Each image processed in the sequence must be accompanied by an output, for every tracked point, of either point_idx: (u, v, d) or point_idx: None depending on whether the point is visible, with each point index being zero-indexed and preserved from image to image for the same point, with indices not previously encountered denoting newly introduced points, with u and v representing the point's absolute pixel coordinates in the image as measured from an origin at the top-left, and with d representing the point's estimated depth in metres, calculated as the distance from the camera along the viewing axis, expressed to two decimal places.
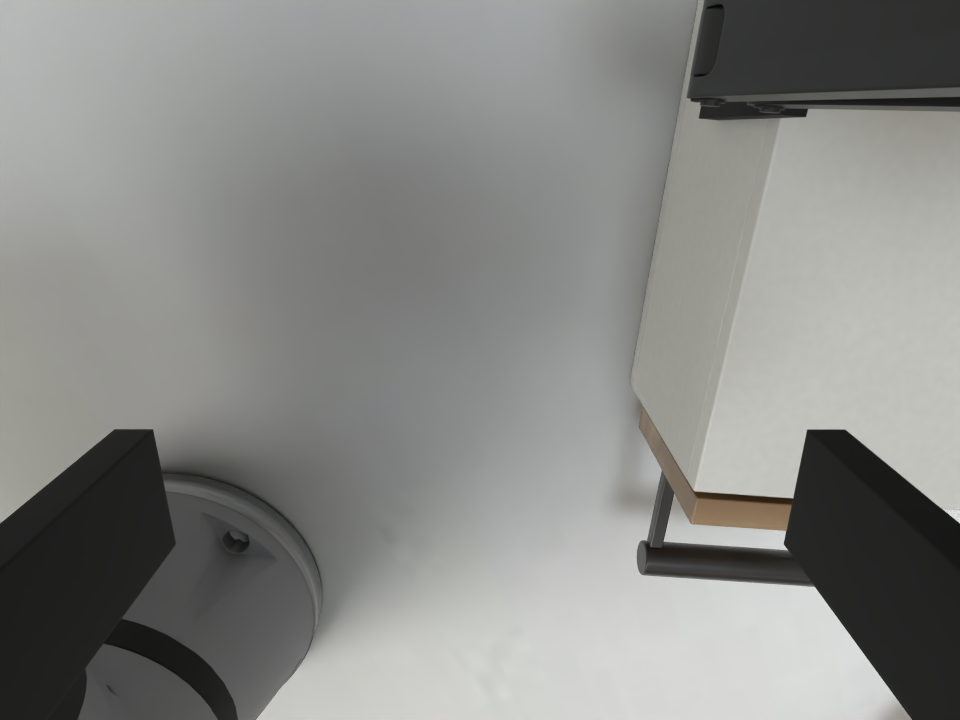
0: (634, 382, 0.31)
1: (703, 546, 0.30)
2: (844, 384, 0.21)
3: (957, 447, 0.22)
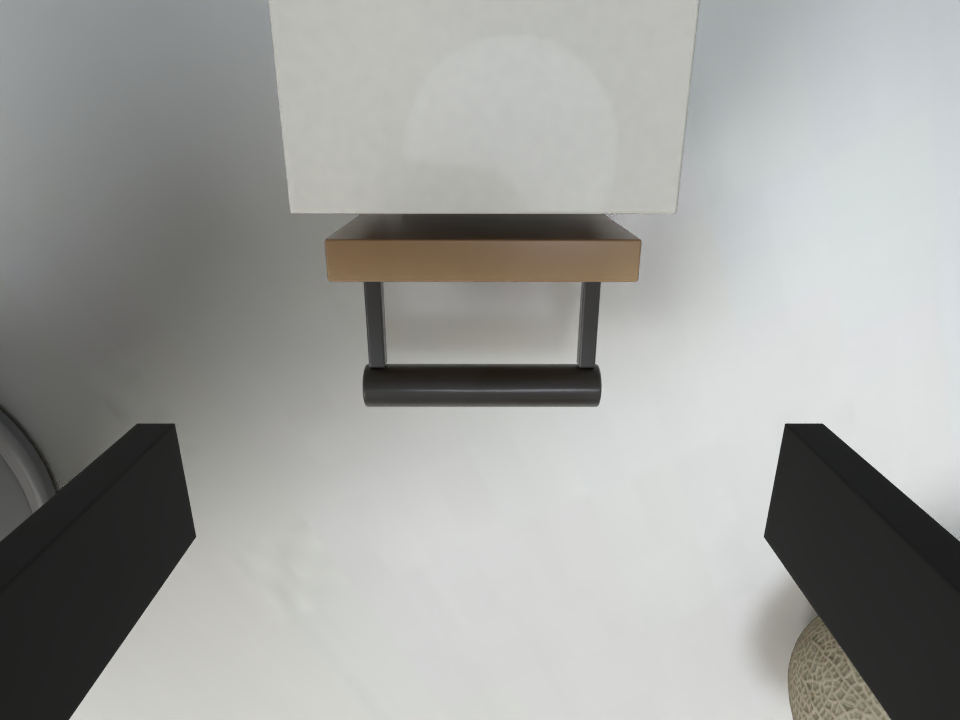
0: None
1: (443, 364, 0.23)
2: (453, 13, 0.14)
3: (645, 106, 0.15)
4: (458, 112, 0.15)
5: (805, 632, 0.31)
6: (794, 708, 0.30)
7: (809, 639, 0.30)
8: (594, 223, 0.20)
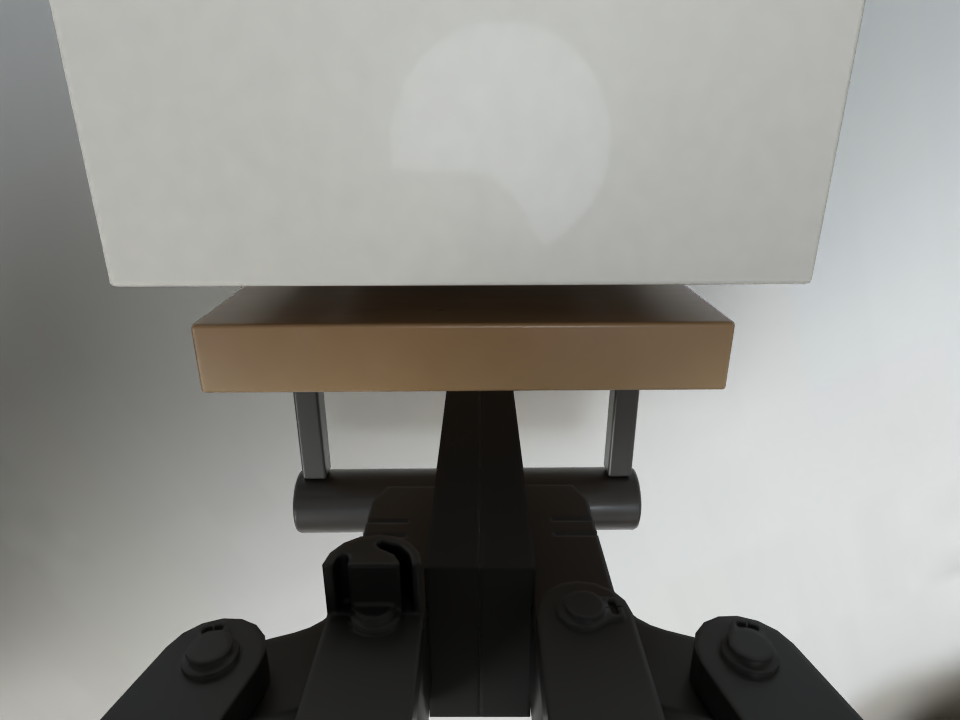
0: None
1: (412, 470, 0.16)
2: None
3: (769, 89, 0.08)
4: (413, 101, 0.08)
5: None
6: None
7: None
8: None
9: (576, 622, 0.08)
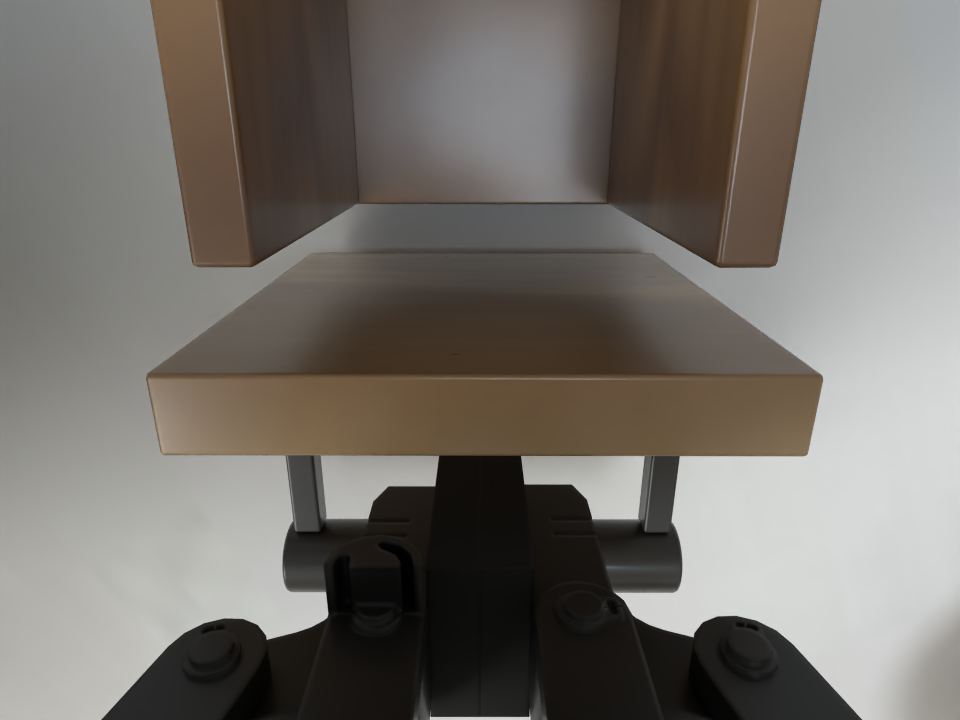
0: None
1: None
2: None
3: None
4: None
5: None
6: None
7: None
8: (690, 310, 0.11)
9: (575, 622, 0.08)
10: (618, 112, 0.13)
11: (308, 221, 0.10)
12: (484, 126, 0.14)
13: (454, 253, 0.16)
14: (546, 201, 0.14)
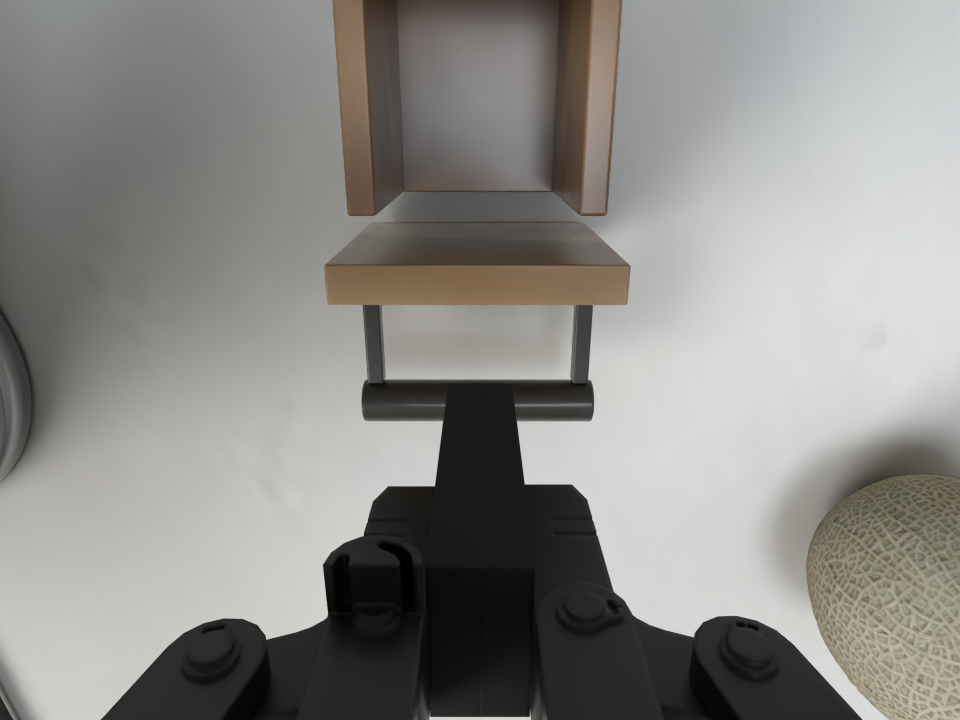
0: None
1: None
2: None
3: None
4: None
5: (825, 519, 0.29)
6: (814, 594, 0.28)
7: (830, 522, 0.28)
8: (586, 245, 0.21)
9: (576, 622, 0.08)
10: (555, 138, 0.23)
11: (388, 198, 0.20)
12: (479, 146, 0.24)
13: None
14: (516, 190, 0.24)
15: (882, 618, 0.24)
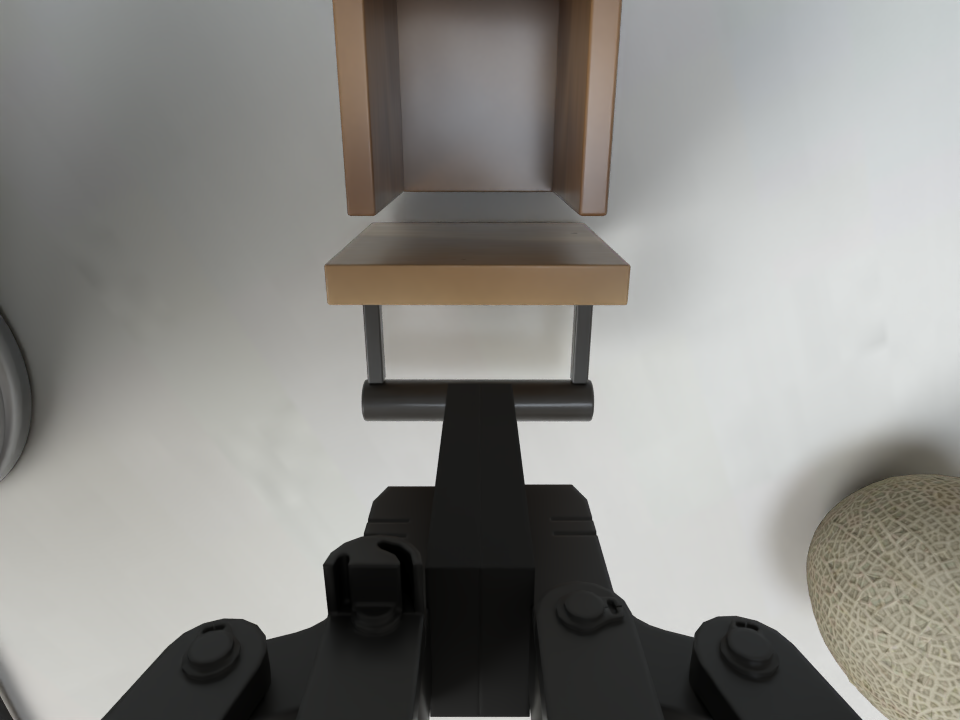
0: None
1: None
2: None
3: None
4: None
5: (825, 519, 0.29)
6: (814, 594, 0.28)
7: (830, 522, 0.28)
8: (586, 245, 0.21)
9: (576, 622, 0.08)
10: (555, 138, 0.23)
11: (388, 198, 0.20)
12: (479, 146, 0.24)
13: None
14: (516, 190, 0.24)
15: (882, 618, 0.24)
